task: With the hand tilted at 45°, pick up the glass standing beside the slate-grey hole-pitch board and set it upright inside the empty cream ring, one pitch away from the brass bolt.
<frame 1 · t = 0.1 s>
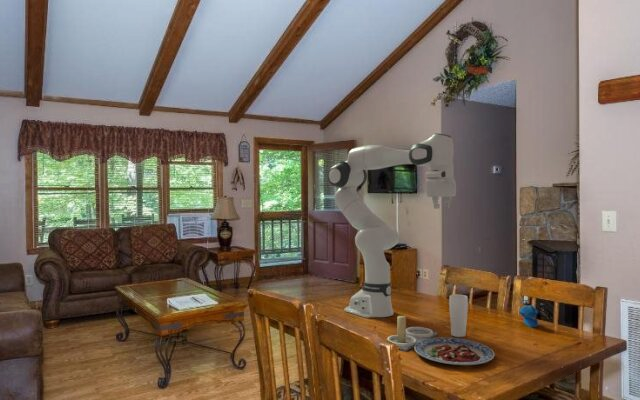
hand: (441, 208, 188), 48 cm above the table, tool pointing down, fingers open, 8 cm apart
drinking glass: (458, 336, 177), on the table
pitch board: (410, 339, 173), on the table
ceramic plate: (453, 356, 156), on the table
crystal: (530, 326, 190), on the table
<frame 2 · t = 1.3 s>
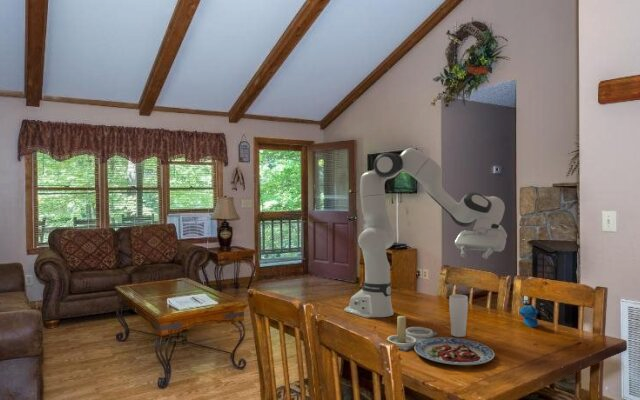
hand: (473, 256, 185), 29 cm above the table, tool tilted 45°, fingers open, 8 cm apart
nothing on the table moved.
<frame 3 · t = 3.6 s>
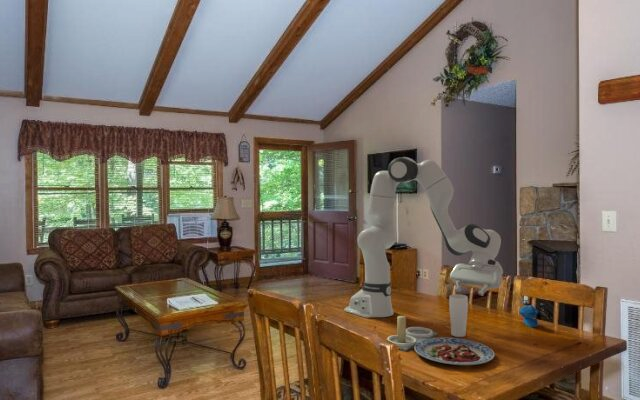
hand: (468, 292, 183), 15 cm above the table, tool tilted 45°, fingers open, 8 cm apart
nothing on the table moved.
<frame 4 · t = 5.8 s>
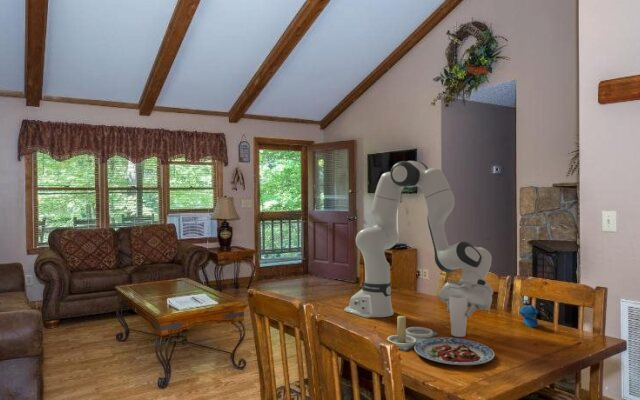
hand: (457, 313, 177), 8 cm above the table, tool tilted 45°, fingers closed on drinking glass, 6 cm apart
drinking glass: (458, 336, 177), on the table, touching gripper
everything else where it was.
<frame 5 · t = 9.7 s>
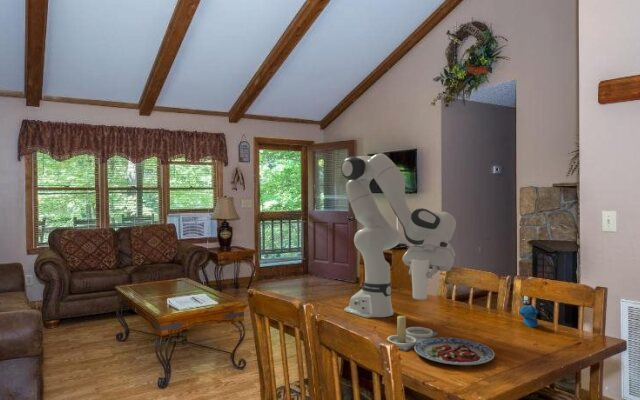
hand: (419, 275, 177), 23 cm above the table, tool tilted 45°, fingers closed on drinking glass, 6 cm apart
drinking glass: (419, 298, 177), point 14 cm above the table, touching gripper
everything else where it was.
when the fingers open (11 cm above the table, at t = 13.2 s): drinking glass drops 1 cm, resting on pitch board.
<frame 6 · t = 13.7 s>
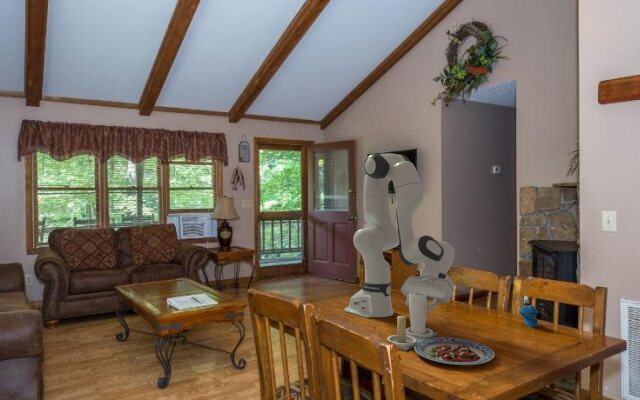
hand: (418, 307, 177), 11 cm above the table, tool tilted 45°, fingers open, 8 cm apart
drinking glass: (418, 333, 178), point 1 cm above the table, touching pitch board
everything else where it was.
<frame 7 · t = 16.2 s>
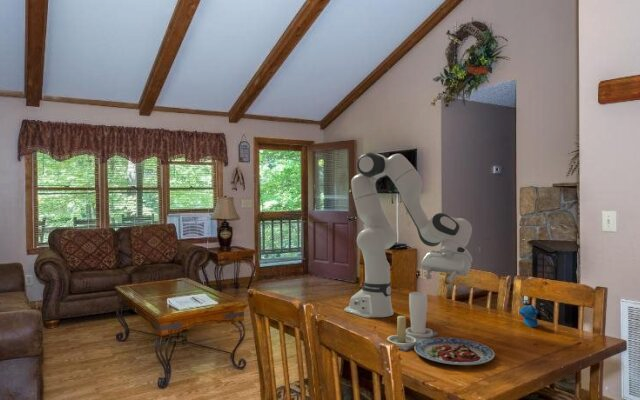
hand: (438, 279, 184), 20 cm above the table, tool tilted 45°, fingers open, 8 cm apart
nothing on the table moved.
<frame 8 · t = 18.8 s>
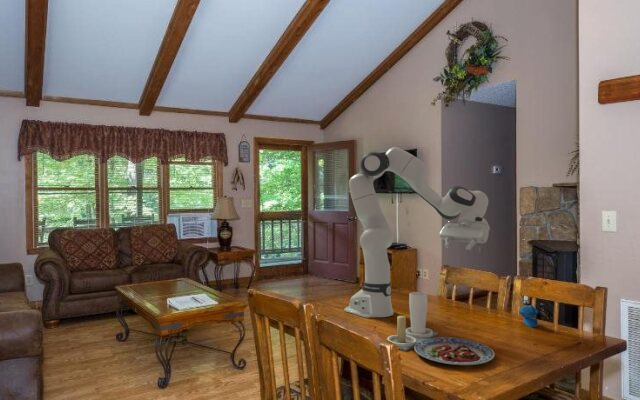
hand: (457, 248, 192), 31 cm above the table, tool tilted 45°, fingers open, 8 cm apart
nothing on the table moved.
at the end: drinking glass 0.4 cm from the target spot on the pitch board, point 0.6 cm above the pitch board's base; drinking glass tilted 0°; the gripper is holding nothing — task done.
